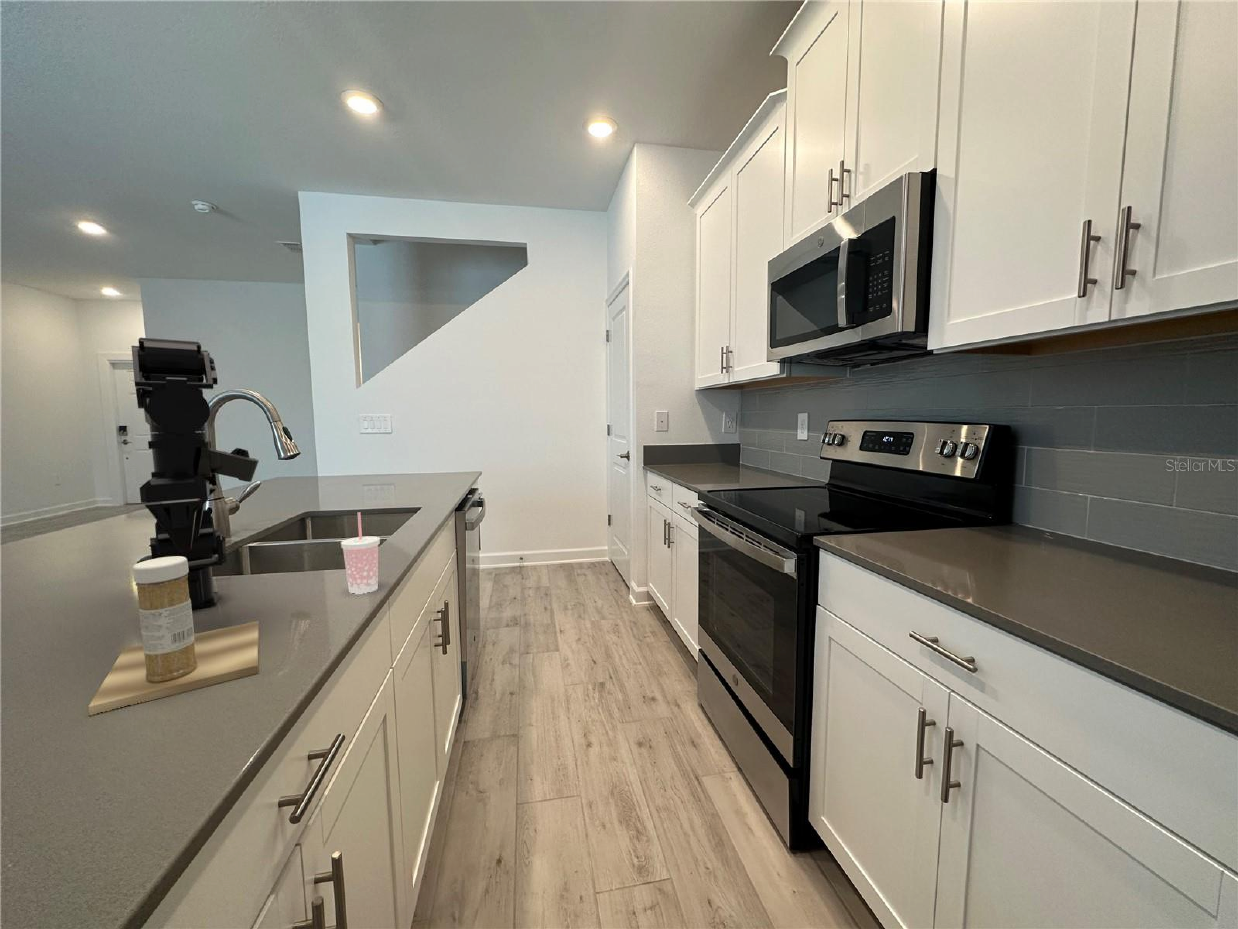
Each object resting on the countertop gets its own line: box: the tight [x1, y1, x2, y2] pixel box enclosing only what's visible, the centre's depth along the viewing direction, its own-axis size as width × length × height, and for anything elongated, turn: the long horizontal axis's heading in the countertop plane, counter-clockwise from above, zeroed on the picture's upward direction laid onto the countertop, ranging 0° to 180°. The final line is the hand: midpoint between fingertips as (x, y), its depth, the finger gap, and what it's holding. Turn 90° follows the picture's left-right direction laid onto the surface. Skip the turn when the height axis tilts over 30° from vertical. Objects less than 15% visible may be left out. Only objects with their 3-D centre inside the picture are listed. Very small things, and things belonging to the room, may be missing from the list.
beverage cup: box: [340, 511, 381, 595], centre depth 86 cm, size 6×6×14 cm
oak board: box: [88, 620, 260, 716], centre depth 61 cm, size 16×14×1 cm
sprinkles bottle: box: [132, 556, 197, 682], centre depth 56 cm, size 5×5×14 cm
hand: (189, 544), depth 68 cm, fingers open, 9 cm apart
